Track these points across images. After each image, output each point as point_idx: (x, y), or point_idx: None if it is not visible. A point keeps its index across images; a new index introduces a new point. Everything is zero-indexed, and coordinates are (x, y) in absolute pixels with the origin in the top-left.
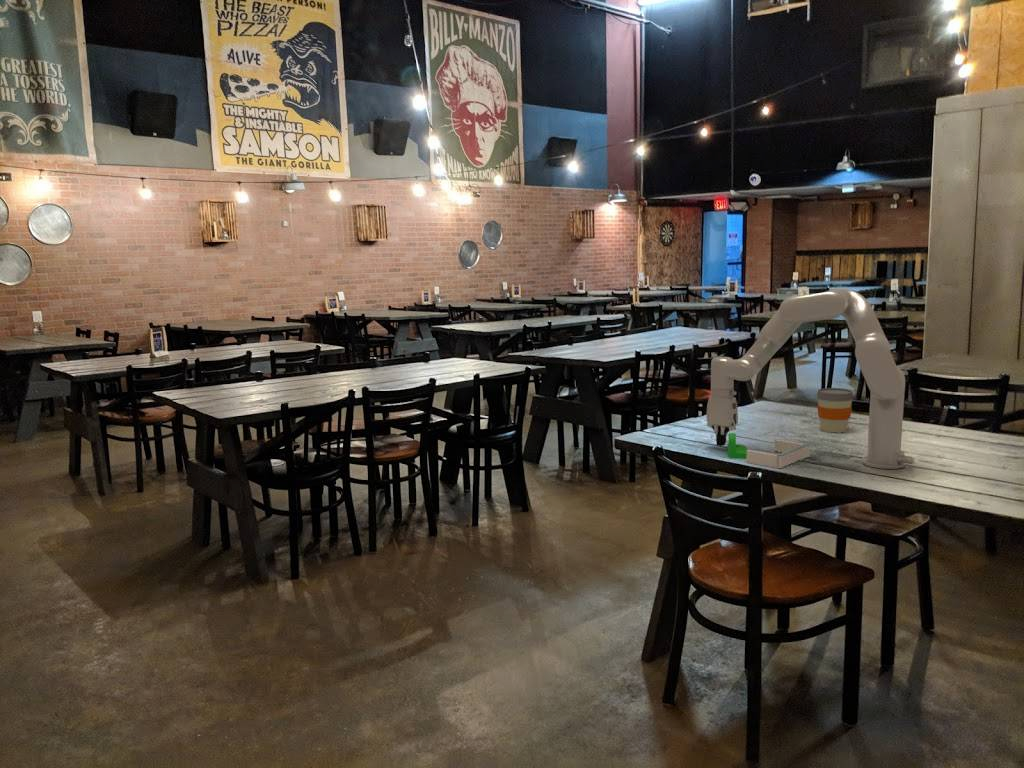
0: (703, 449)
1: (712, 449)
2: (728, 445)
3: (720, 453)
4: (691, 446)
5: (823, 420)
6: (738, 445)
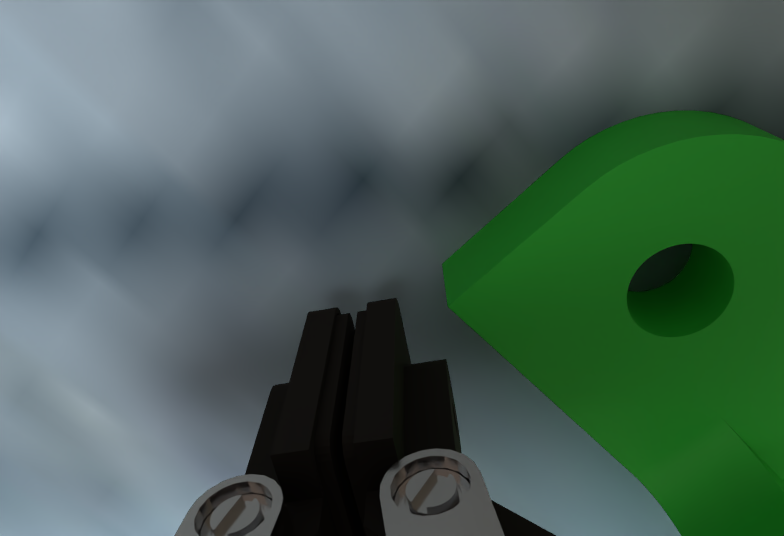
0: None
1: None
2: (535, 366)
3: (546, 503)
4: (18, 517)
5: None
6: (676, 230)
